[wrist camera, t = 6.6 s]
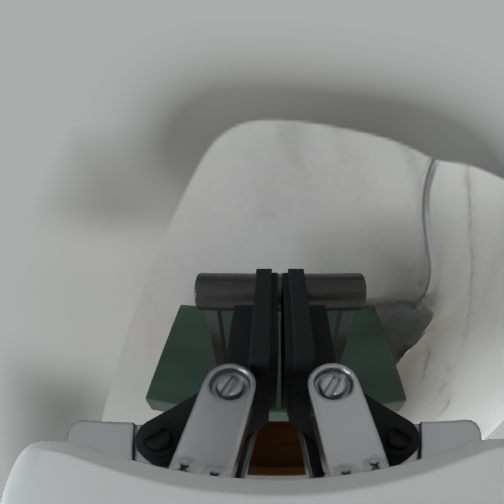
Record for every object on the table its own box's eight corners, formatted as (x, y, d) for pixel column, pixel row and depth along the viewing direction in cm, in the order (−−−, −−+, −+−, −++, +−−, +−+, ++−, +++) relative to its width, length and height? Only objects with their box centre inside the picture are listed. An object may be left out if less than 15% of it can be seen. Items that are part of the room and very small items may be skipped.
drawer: (163, 228, 16) (100, 317, 9) (391, 228, 15) (455, 317, 8) (211, 411, 27) (200, 474, 20) (336, 412, 26) (342, 475, 19)
